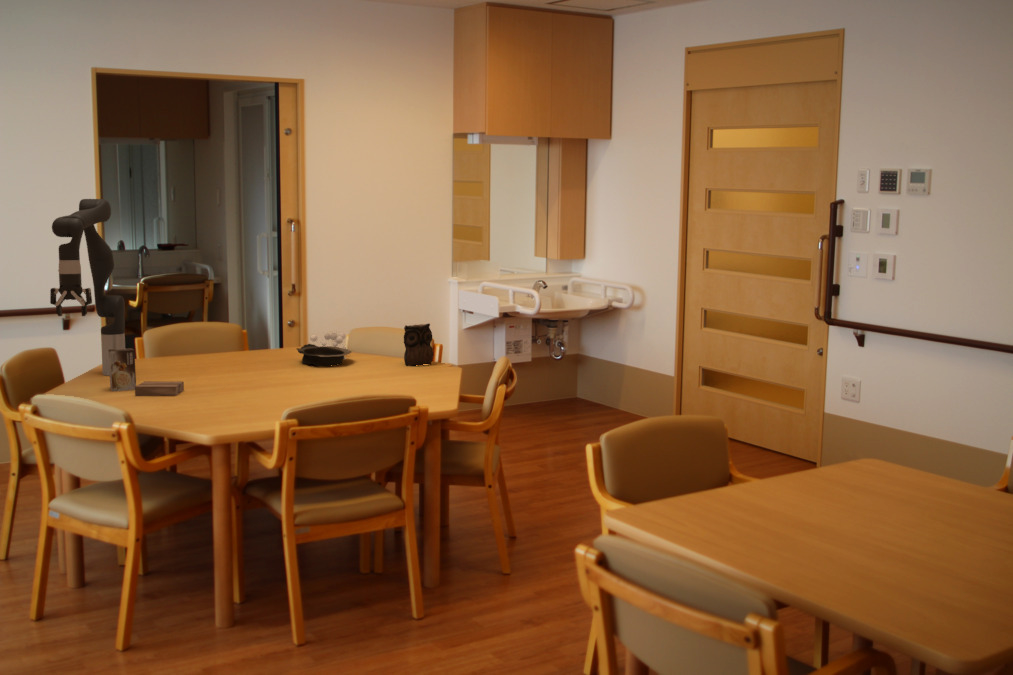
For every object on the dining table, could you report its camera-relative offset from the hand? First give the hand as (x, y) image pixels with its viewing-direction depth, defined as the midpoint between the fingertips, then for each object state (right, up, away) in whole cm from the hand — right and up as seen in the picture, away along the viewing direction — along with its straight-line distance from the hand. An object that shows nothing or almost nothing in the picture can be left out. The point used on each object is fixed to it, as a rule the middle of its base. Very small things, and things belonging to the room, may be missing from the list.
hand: (71, 316), depth 364 cm
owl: (+120, -22, +86) cm, 149 cm away
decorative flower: (+74, -19, +106) cm, 131 cm away
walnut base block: (+28, -30, +14) cm, 43 cm away
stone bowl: (+78, -22, +85) cm, 117 cm away
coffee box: (+11, -29, +19) cm, 37 cm away
